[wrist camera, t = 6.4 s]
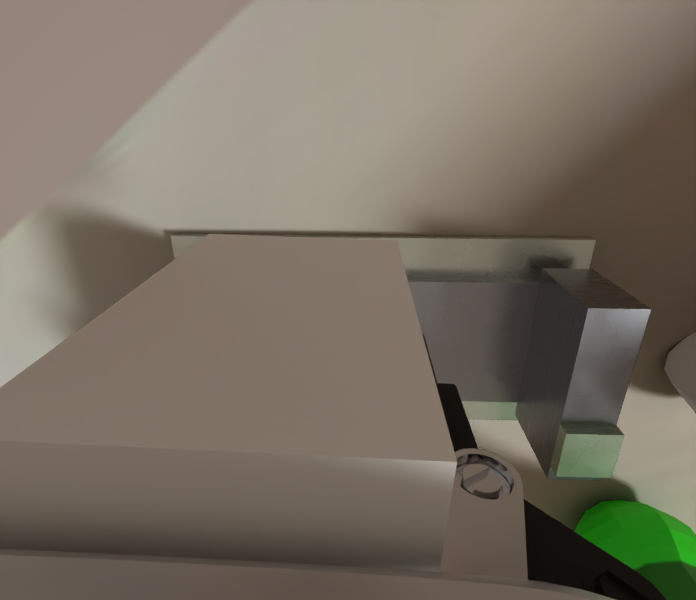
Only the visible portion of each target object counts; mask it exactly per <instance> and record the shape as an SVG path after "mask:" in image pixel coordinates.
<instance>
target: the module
mask: <svg viewBox="0 0 696 600" xmlns="http://www.w3.org/2000/svg"><path fill="white" fill-rule="evenodd" d="M456 466H457V460H456V456H455V452H454V449H453V445H452V441H451V438H450V434H449V430H448V427H447V423H446V419H445V416H444V412H443V408H442V405H441V401H440V397H439V394H438V390H437V386H436V383H435V379H434V375H433V371H432V368H431V364H430V360H429V357H428V353H427V349H426V346H425V342H424V338H423V335H422V331H421V327H420V324H419V320H418V316H417V313H416V309H415V305H414V302H413V298H412V294H411V291H410V287H409V283H408V280H407V276H406V272H405V269H404V265H403V261H402V258H401V254H400V250H399V247H398V243H397V241H395V240H368V239H340V238H313V237H285V236H258V235H230V234H208V235H207V236H206V237H204V238H203V239H201V240H200V241H199V242H197V243H196V244H195V245H193V246H192V247H191V248H189V249H188V250H187V251H185V252H184V253H183V254H181V255H180V256H178V257H177V258H176V259H174V260H173V261H172V262H170V263H169V264H168V265H166V266H165V267H164V268H162V269H161V270H159V271H158V272H157V273H155V274H154V275H153V276H151V277H150V278H149V279H147V280H146V281H145V282H143V283H142V284H140V285H139V286H138V287H136V288H135V289H134V290H132V291H131V292H130V293H128V294H127V295H126V296H124V297H123V298H121V299H120V300H119V301H117V302H116V303H115V304H113V305H112V306H111V307H109V308H108V309H107V310H105V311H104V312H102V313H101V314H100V315H98V316H97V317H96V318H94V319H93V320H92V321H90V322H89V323H88V324H86V325H85V326H83V327H82V328H81V329H79V330H78V331H77V332H75V333H74V334H73V335H71V336H70V337H69V338H67V339H66V340H64V341H63V342H62V343H60V344H59V345H58V346H56V347H55V348H54V349H52V350H51V351H50V352H48V353H47V354H45V355H44V356H43V357H41V358H40V359H39V360H37V361H36V362H35V363H33V364H32V365H31V366H29V367H28V368H26V369H25V370H24V371H22V372H21V373H20V374H18V375H17V376H16V377H14V378H13V379H12V380H10V381H9V382H7V383H6V384H5V385H3V386H2V387H1V388H0V549H22V550H44V551H66V552H88V553H110V554H130V555H150V556H169V557H189V558H208V559H227V560H246V561H265V562H283V563H301V564H318V565H335V566H353V567H370V568H387V569H405V570H419V571H432V572H439V571H440V565H441V558H442V552H443V546H444V540H445V534H446V528H447V521H448V515H449V509H450V503H451V497H452V491H453V485H454V478H455V472H456Z"/></svg>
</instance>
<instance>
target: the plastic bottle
mask: <svg viewBox="0 0 696 600" xmlns="http://www.w3.org/2000/svg"><path fill="white" fill-rule="evenodd" d="M574 532H576V533H577V534H579V535H580V536H582V537H583V538H585V539H587V540H588V541H590V542H591V543H593V544H594V545H596V546H598V547H599V548H601V549H602V550H604V551H605V552H607V553H608V554H610V555H612V556H613V557H615V558H616V559H618V560H619V561H621V562H623V563H624V564H626V565H627V566H629V567H630V568H632V569H634V570H635V571H637V572H638V573H639V574H641V575H642V576H643V577H644V578H646V579H647V580H648V581H650V582H651V583H652V584H653V585H654V586H655V587H656V588H657V589H658V590H659V591H660V593H661V594H662V595H663V596H664V597H665V599H666V600H696V535H695V533H694V532H693V531H692V529H691V528H690V527H688V526H687V525H685V524H684V523H682V522H681V521H679V520H678V519H676V518H675V517H673V516H670V515H668V514H666V513H664V512H662V511H659V510H657V509H655V508H653V507H651V506H649V505H646V504H643V503H639V502H626V501H624V500H615V501H603V502H600V503H599V504H597V505H595V506H593V507H591V508H590V509H588V510H586V511H585V512H584V514H583V516H582V518H581V519H580V520H579V522H578V524H577V526H576V528H575V530H574Z"/></svg>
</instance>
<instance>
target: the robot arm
mask: <svg viewBox="0 0 696 600" xmlns="http://www.w3.org/2000/svg"><path fill="white" fill-rule="evenodd" d="M422 335H423V338H424V342H425V346H426V349H427V353H428V357H429V360H430V364H431V368H432V371H433V375H434V379H435V383H436V386H437V390H438V394H439V397H440V401H441V405H442V408H443V412H444V416H445V419H446V423H447V427H448V430H449V434H450V438H451V441H452V445H453V449H454V452H455V456H456V460H457V466H456V472H455V478H454V485H453V491H452V497H451V503H450V509H449V515H448V521H447V528H446V534H445V540H444V546H443V552H442V558H441V565H440V571H439V572H432V571H419V570H405V569H387V568H370V567H353V566H335V565H318V564H301V563H283V562H265V561H246V560H227V559H208V558H189V557H169V556H150V555H130V554H110V553H88V552H66V551H44V550H22V549H0V600H666V599H665V597H664V596H663V595H662V594H661V593H660V591H659V590H658V589H657V588H656V587H655V586H654V585H653V584H652V583H651V582H650V581H648V580H647V579H646V578H644V577H643V576H642V575H641V574H639V573H638V572H637V571H635V570H634V569H632V568H630V567H629V566H627V565H626V564H624V563H623V562H621V561H619V560H618V559H616V558H615V557H613V556H612V555H610V554H608V553H607V552H605V551H604V550H602V549H601V548H599V547H598V546H596V545H594V544H593V543H591V542H590V541H588V540H587V539H585V538H583V537H582V536H580V535H579V534H577V533H576V532H574V531H573V530H571V529H569V528H568V527H566V526H565V525H563V524H562V523H560V522H558V521H557V520H555V519H554V518H552V517H551V516H549V515H547V514H546V513H544V512H543V511H541V510H540V509H538V508H537V507H535V506H533V505H532V504H530V503H529V502H527V501H526V500H524V496H523V484H522V480H521V476H520V475H519V473H518V472H517V470H516V469H515V467H514V466H512V465H511V464H510V463H509V462H508V461H507V460H506V459H504V458H502V457H500V456H499V455H497V454H495V453H492V452H489V451H486V450H482V449H478V448H477V445H476V442H475V439H474V436H473V433H472V430H471V427H470V424H469V421H468V419H467V416H466V413H465V410H464V407H463V404H462V401H461V398H460V395H459V392H458V389H457V387H456V385H455V384H446V383H437V380H436V376H435V372H434V369H433V365H432V362H431V358H430V354H429V351H428V347H427V344H426V340H425V336H424V334H422Z"/></svg>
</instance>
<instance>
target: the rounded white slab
mask: <svg viewBox="0 0 696 600" xmlns="http://www.w3.org/2000/svg"><path fill="white" fill-rule="evenodd" d="M664 370H665V372H666V374H667V376H668V378H669V379H670V381H671V383H672V384H673V386H674V387H675V388H676V389H677V391H678V392H679V393H680V394H681V396H682V397H683V398H684V399H685V401H686V402H687V403H688V404H689V405H690V407H691V408H692V409H693V410H694V412H695V413H696V331H695V332H694V333H692V334H691V335H689V336H688V337H686V338H684V339H683V340H682V341H681V342H680V343H679V344H678V345H677V346H675V347H674V348H673V349H672V350H671V351H670V352H669V353H668V356H667V360H666V364H665V368H664Z"/></svg>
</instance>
